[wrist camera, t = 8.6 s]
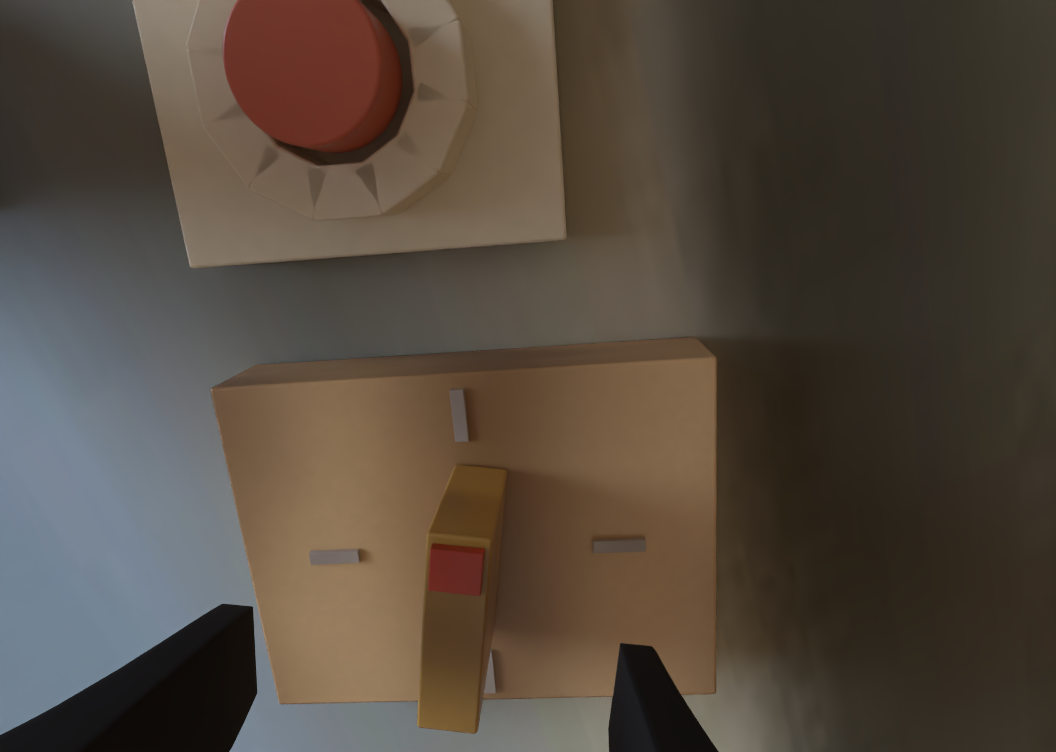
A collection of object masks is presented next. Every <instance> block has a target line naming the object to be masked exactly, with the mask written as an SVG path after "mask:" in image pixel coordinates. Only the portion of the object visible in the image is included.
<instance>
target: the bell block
mask: <svg viewBox="0 0 1056 752" xmlns="http://www.w3.org/2000/svg"><path fill="white" fill-rule="evenodd" d="M236 1H237V0H132V2H133V7H134V11H135V16H136V20H137V25H138V30H139V34H140V39H141V43H142V48H143V53H144V57H145V62H146V66H147V71H148V76H149V80H150V85H151V89H152V94H153V99H154V103H155V108H156V113H157V117H158V122H159V126H160V131H161V136H162V140H163V145H164V149H165V154H166V159H167V163H168V168H169V172H170V177H171V182H172V186H173V191H174V196H175V200H176V205H177V209H178V214H179V219H180V223H181V228H182V232H183V237H184V242H185V246H186V251H187V255H188V260H189V265H190V267H191V268H205V267H218V266H231V265H245V264H258V263H271V262H284V261H297V260H311V259H324V258H337V257H350V256H363V255H377V254H390V253H403V252H416V251H429V250H443V249H456V248H469V247H482V246H495V245H509V244H522V243H535V242H548V241H561V240H565V239H566V238H567V230H566V214H565V197H564V180H563V163H562V146H561V129H560V113H559V96H558V79H557V62H556V45H555V28H554V12H553V0H360V1H361V2H362V3H363V4H364V5H365V6H366V7H367V8H368V9H369V10H370V11H371V12H372V14H373V15H374V16H375V17H376V18H377V19H378V20H379V21H380V22H381V23H382V24H383V26H384V27H385V28H386V29H387V31H388V33H389V34H390V36H391V38H392V39H393V42H394V44H395V46H396V49H397V52H398V55H399V58H400V63H401V68H402V92H401V97H400V102H399V105H398V108H397V111H396V113H395V115H394V117H393V119H392V121H391V122H390V124H389V126H388V127H387V128H386V129H385V131H384V132H383V133H382V134H381V135H380V136H379V137H378V138H377V139H375V140H374V141H373V142H371V143H370V144H368V145H366V146H364V147H362V148H360V149H357V150H354V151H351V152H345V153H328V152H322V151H317V150H313V149H308V148H304V147H299V146H295V145H291V144H287V143H284V142H282V141H279V140H277V139H275V138H273V137H271V136H270V135H268V134H266V133H265V132H264V131H262V130H261V129H260V128H258V127H257V126H256V125H255V124H254V123H253V122H252V121H251V120H250V119H249V118H248V117H247V115H246V114H245V113H244V112H243V111H242V109H241V107H240V106H239V104H238V103H237V101H236V99H235V97H234V95H233V93H232V91H231V89H230V86H229V84H228V81H227V78H226V74H225V70H224V64H223V49H222V45H223V35H224V30H225V26H226V22H227V19H228V17H229V14H230V12H231V10H232V8H233V6H234V4H235V2H236Z"/></svg>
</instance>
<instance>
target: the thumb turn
mask: <svg viewBox="0 0 1056 752" xmlns="http://www.w3.org/2000/svg"><path fill="white" fill-rule="evenodd" d="M506 482H507V471H506V470H504V469H494V468H484V467H475V466H465V465H455V466H454V468H453V471H452V473H451V476H450V478H449V481H448V483H447V485H446V488H445V490H444V493H443V495H442V498H441V500H440V502H439V505H438V507H437V510H436V512H435V515H434V517H433V519H432V522H431V524H430V527H429V529H428V532H427V534H426V550H425V571H424V592H423V612H422V633H421V653H420V674H419V694H418V715H417V725H418V727H420V728H428V729H437V730H446V731H454V732H463V733H472V734H475V733H476V732H477V731H478V726H479V720H480V714H481V707H482V701H483V695H484V689H485V682H486V676H487V670H488V664H489V657H490V651H491V645H492V639H493V632H494V622H495V611H496V599H497V587H498V575H499V564H500V552H501V540H502V529H503V517H504V505H505V493H506Z"/></svg>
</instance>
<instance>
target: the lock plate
mask: <svg viewBox="0 0 1056 752" xmlns="http://www.w3.org/2000/svg"><path fill="white" fill-rule="evenodd" d="M211 396H212V400H213V405H214V409H215V414H216V418H217V423H218V427H219V432H220V436H221V441H222V446H223V450H224V455H225V459H226V464H227V468H228V473H229V477H230V482H231V487H232V491H233V496H234V500H235V505H236V509H237V514H238V518H239V523H240V528H241V532H242V537H243V541H244V546H245V550H246V555H247V559H248V564H249V568H250V573H251V578H252V582H253V587H254V591H255V596H256V600H257V605H258V609H259V614H260V619H261V623H262V628H263V632H264V637H265V641H266V646H267V650H268V655H269V659H270V664H271V669H272V673H273V678H274V682H275V687H276V691H277V696H278V700H279V703H280V704H313V703H356V702H398V701H418V694H419V674H420V653H421V633H422V612H423V592H424V571H425V550H426V534H427V532H428V529H429V527H430V524H431V522H432V519H433V517H434V515H435V512H436V510H437V507H438V505H439V502H440V500H441V498H442V495H443V493H444V490H445V488H446V485H447V483H448V481H449V478H450V476H451V473H452V471H453V468H454V466H455V465H465V466H475V467H484V468H494V469H504V470H506V471H507V482H506V493H505V505H504V517H503V529H502V540H501V552H500V564H499V575H498V587H497V599H496V611H495V622H494V632H493V639H492V645H491V651H490V657H489V664H488V670H487V676H486V682H485V689H484V695H483V699H525V698H567V697H609V696H613V692H614V685H615V677H616V670H617V663H618V655H619V648H620V643H626V644H636V645H646V646H652V647H653V648H654V649H655V650H656V652H657V653H658V655H659V657H660V659H661V661H662V663H663V664H664V666H665V668H666V670H667V671H668V673H669V675H670V677H671V678H672V680H673V682H674V684H675V685H676V687H677V689H678V690H679V692H680V694H681V695H694V694H715V693H716V576H717V359H716V357H715V356H714V355H713V354H712V353H711V352H710V351H709V350H708V349H707V348H706V347H705V346H704V345H703V344H702V343H701V342H700V341H699V340H698V339H697V338H696V337H686V338H670V339H655V340H639V341H623V342H608V343H592V344H576V345H560V346H545V347H529V348H513V349H498V350H482V351H466V352H451V353H435V354H419V355H404V356H388V357H372V358H357V359H341V360H325V361H310V362H294V363H278V364H263V365H255V366H253V367H251V368H249V369H247V370H245V371H243V372H241V373H239V374H237V375H236V376H234V377H232V378H230V379H228V380H226V381H224V382H222V383H220V384H218V385H216V386H215V387H213V388H211Z"/></svg>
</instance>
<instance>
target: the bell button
mask: <svg viewBox="0 0 1056 752" xmlns="http://www.w3.org/2000/svg"><path fill="white" fill-rule="evenodd" d="M222 49H223V64H224V70H225V74H226V78H227V81H228V84H229V86H230V89H231V91H232V93H233V95H234V97H235V99H236V101H237V103H238V104H239V106H240V107H241V109H242V111H243V112H244V113H245V114H246V115H247V117H248V118H249V119H250V120H251V121H252V122H253V123H254V124H255V125H256V126H257V127H258V128H260V129H261V130H262V131H264V132H265V133H266V134H268V135H270V136H271V137H273V138H275V139H277V140H279V141H282V142H284V143H287V144H291V145H295V146H299V147H304V148H308V149H313V150H317V151H322V152H328V153H345V152H351V151H354V150H357V149H360V148H362V147H364V146H366V145H368V144H370V143H371V142H373V141H374V140H375V139H377V138H378V137H379V136H380V135H381V134H382V133H383V132H384V131H385V129H386V128H387V127H388V126H389V124H390V122H391V121H392V119H393V117H394V115H395V113H396V111H397V108H398V105H399V102H400V97H401V92H402V68H401V63H400V58H399V55H398V52H397V49H396V46H395V44H394V42H393V39H392V38H391V36H390V34H389V33H388V31H387V29H386V28H385V27H384V26H383V24H382V23H381V22H380V21H379V20H378V19H377V18H376V17H375V16H374V15H373V14H372V12H371V11H370V10H369V9H368V8H367V7H366V6H365V5H364V4H363V3H362V2H361V1H360V0H237V1H236V2H235V4H234V6H233V8H232V10H231V12H230V14H229V17H228V19H227V22H226V26H225V30H224V35H223V45H222Z"/></svg>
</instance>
